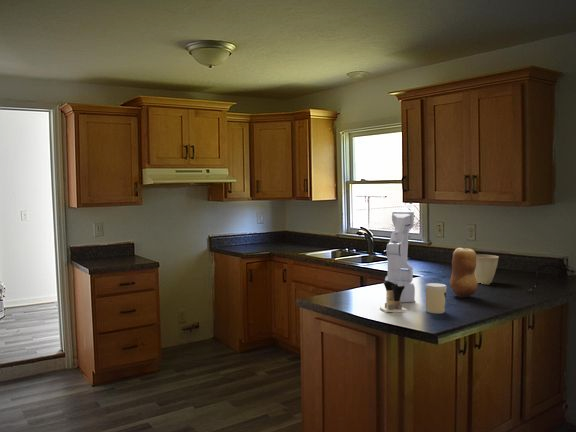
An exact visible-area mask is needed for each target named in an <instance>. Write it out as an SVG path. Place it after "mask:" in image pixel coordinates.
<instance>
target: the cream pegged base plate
mask: <svg viewBox="0 0 576 432" xmlns="http://www.w3.org/2000/svg"><path fill="white" fill-rule="evenodd" d="M380 309H381V310H380ZM379 310H380V311H383V312H384V313H385V312H386V314H388V313H387V312H393V313H407V312H408V309H407V308H405V307H404V306H403V304H401V305H397V309H394V305H389V309H387V308H386V302H385V303H384V306H380V307H379Z"/></svg>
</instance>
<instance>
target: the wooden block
mask: <svg viewBox="0 0 576 432" xmlns="http://www.w3.org/2000/svg"><path fill="white" fill-rule="evenodd" d="M385 300H386V302H385V303H386V308H387V309H389V305H394V309H397V305H402V304H401V303H402V302H401V297H400V301H394V293H393V290H388V291H386V299H385Z"/></svg>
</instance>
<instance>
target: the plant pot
mask: <svg viewBox="0 0 576 432" xmlns="http://www.w3.org/2000/svg"><path fill="white" fill-rule="evenodd" d="M499 257H500V256H498V255H492V254H476V268H475V272H474V274H475V277H476V280H477V284H479V283H481V284H480V285H491V284H492V282H493V281H494V276H495V274H496V270H497V268H498V265H499V264H498V263H499V259H500V258H499ZM490 283H491V284H490Z"/></svg>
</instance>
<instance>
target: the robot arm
mask: <svg viewBox="0 0 576 432" xmlns="http://www.w3.org/2000/svg"><path fill="white" fill-rule="evenodd" d="M414 220H415V212H414V211H413V210H395V209H394V210H393V211H392V214H391V221H392V224H393V226H394V231H392V232H391V235H390V239H389V242H388V243H387V244H386V249H385V250H386V259H387V275H385V278H384V281H383V282H382V283H383V285H384V288H385V291H386V292H387V291H388V290H393V293H394V301H400V297H401V303H414V302H416V300H415V299H416V298H415V295H416V289H415V288H416V287H415V284H414V282H413V279H414V278H413V277H414V272H413V270H414V269H413V267H412V265H411V264H409V263H408V255H409V254H408V249H409V248H408V247H409V235H410V234H409V233H410V230H411V229H414V224H415V221H414Z"/></svg>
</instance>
